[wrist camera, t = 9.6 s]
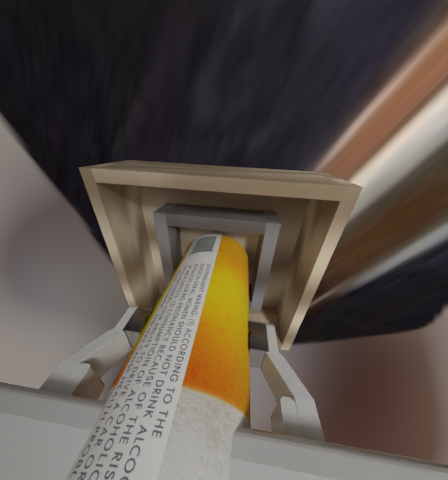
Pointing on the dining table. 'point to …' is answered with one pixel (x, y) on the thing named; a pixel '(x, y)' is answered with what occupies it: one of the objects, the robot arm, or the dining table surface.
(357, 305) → the dining table surface
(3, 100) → the dining table surface
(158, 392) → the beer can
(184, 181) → the crate
